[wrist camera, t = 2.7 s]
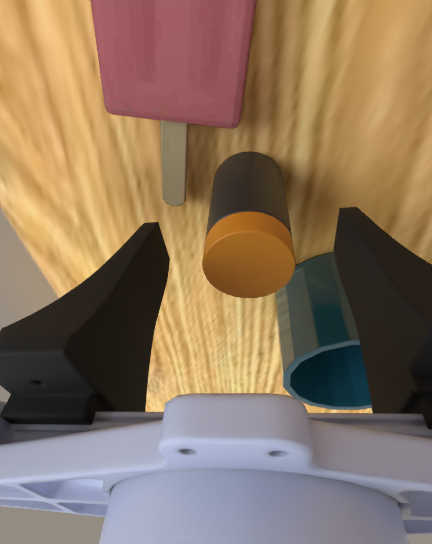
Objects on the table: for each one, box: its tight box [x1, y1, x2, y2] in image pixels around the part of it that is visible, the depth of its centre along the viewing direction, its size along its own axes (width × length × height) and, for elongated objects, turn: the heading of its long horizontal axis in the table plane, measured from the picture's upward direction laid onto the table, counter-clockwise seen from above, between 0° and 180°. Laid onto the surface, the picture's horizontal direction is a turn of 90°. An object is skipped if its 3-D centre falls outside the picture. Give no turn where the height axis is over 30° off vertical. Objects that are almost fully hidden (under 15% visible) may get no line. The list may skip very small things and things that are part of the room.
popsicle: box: [91, 0, 256, 206], centre depth 11 cm, size 5×2×15 cm
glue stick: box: [202, 152, 296, 298], centre depth 14 cm, size 3×3×6 cm
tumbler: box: [276, 253, 372, 410], centre depth 19 cm, size 7×7×6 cm
